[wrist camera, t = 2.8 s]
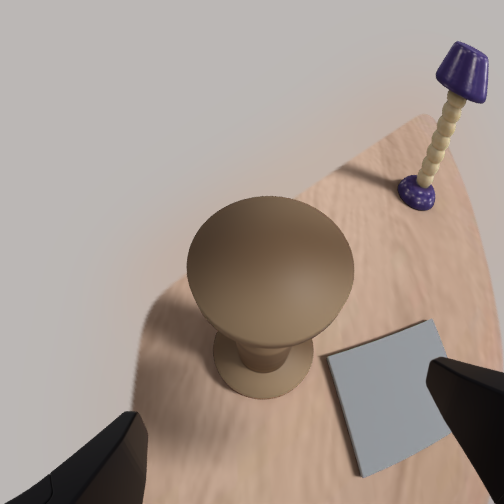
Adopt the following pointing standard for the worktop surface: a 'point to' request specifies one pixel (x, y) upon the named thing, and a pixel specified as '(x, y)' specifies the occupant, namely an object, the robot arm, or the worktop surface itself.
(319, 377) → the worktop surface
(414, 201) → the toy lamp
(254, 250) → the walnut stool
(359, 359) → the grey mat
